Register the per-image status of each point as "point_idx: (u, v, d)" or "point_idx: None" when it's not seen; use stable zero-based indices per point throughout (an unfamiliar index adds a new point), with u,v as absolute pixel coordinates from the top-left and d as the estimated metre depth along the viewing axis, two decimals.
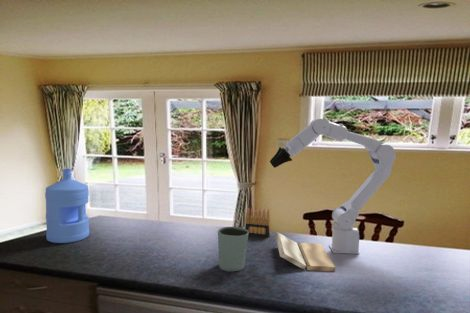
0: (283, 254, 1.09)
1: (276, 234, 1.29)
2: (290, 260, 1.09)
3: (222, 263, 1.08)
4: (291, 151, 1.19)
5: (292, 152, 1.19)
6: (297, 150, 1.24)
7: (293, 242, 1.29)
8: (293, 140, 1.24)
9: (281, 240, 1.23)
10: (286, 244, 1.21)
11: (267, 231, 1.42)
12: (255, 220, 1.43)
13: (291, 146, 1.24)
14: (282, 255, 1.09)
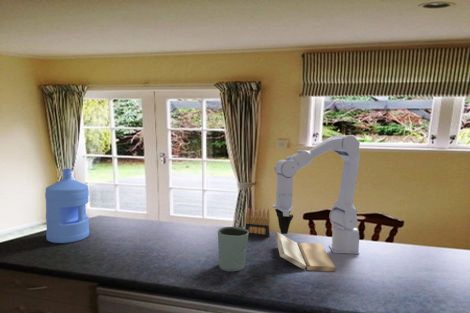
0: (283, 254, 1.09)
1: (276, 234, 1.29)
2: (290, 260, 1.09)
3: (222, 263, 1.08)
4: (285, 212, 1.12)
5: (287, 212, 1.12)
6: (289, 203, 1.17)
7: (293, 242, 1.29)
8: (278, 199, 1.17)
9: (281, 240, 1.23)
10: (286, 244, 1.21)
11: (267, 231, 1.42)
12: (255, 220, 1.43)
13: (282, 205, 1.16)
14: (282, 255, 1.09)
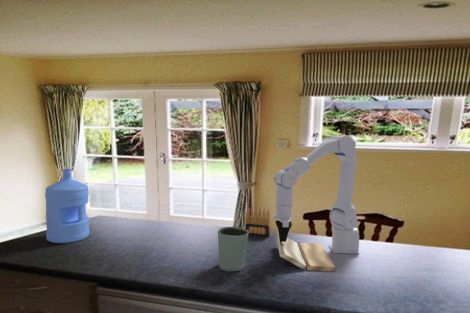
0: (283, 254, 1.09)
1: (276, 234, 1.29)
2: (290, 260, 1.09)
3: (222, 263, 1.08)
4: (285, 223, 1.12)
5: (286, 223, 1.12)
6: (289, 213, 1.17)
7: (293, 242, 1.29)
8: (277, 209, 1.18)
9: None
10: (286, 244, 1.21)
11: (267, 231, 1.42)
12: (255, 220, 1.43)
13: (281, 216, 1.17)
14: (282, 255, 1.09)
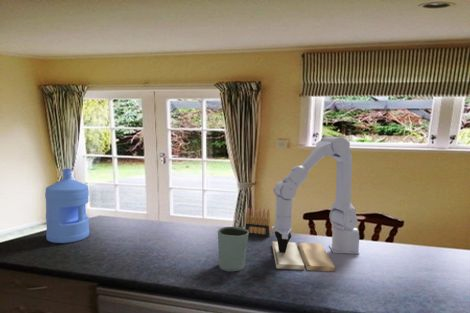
0: (278, 265, 1.10)
1: (272, 244, 1.30)
2: (287, 267, 1.10)
3: (222, 263, 1.08)
4: (284, 235, 1.13)
5: (286, 235, 1.13)
6: (288, 225, 1.17)
7: (291, 244, 1.29)
8: (277, 220, 1.18)
9: (276, 249, 1.23)
10: None
11: (267, 231, 1.42)
12: (255, 220, 1.43)
13: (281, 227, 1.17)
14: (278, 266, 1.10)
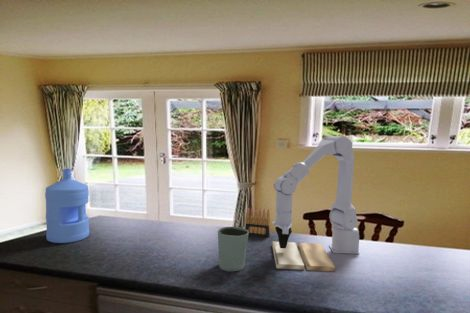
0: (278, 265, 1.10)
1: (272, 244, 1.30)
2: (287, 267, 1.10)
3: (222, 263, 1.08)
4: (285, 230, 1.12)
5: (286, 230, 1.12)
6: (289, 220, 1.17)
7: (291, 244, 1.29)
8: (277, 216, 1.18)
9: (276, 249, 1.23)
10: (282, 251, 1.21)
11: (267, 231, 1.42)
12: (255, 220, 1.43)
13: (281, 222, 1.17)
14: (278, 266, 1.10)
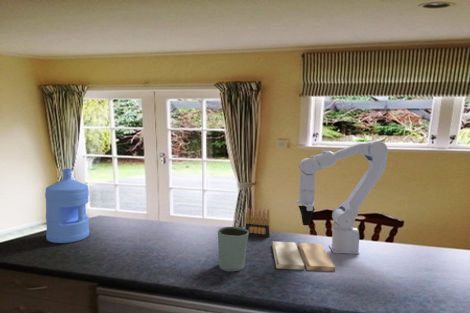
0: (278, 265, 1.10)
1: (272, 244, 1.30)
2: (287, 267, 1.10)
3: (222, 263, 1.08)
4: (309, 207, 1.20)
5: (311, 207, 1.20)
6: (312, 198, 1.25)
7: (291, 244, 1.29)
8: (301, 195, 1.26)
9: (276, 249, 1.23)
10: (282, 251, 1.21)
11: (267, 231, 1.42)
12: (255, 220, 1.43)
13: (305, 200, 1.25)
14: (278, 266, 1.10)
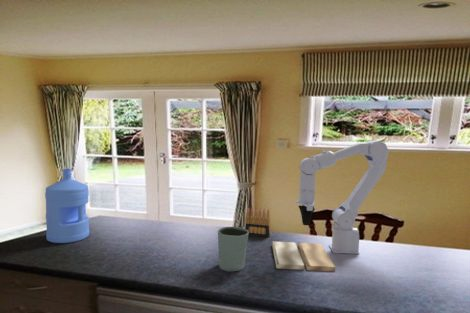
0: (278, 265, 1.10)
1: (272, 244, 1.30)
2: (287, 267, 1.10)
3: (222, 263, 1.08)
4: (309, 207, 1.20)
5: (311, 207, 1.20)
6: (312, 198, 1.25)
7: (291, 244, 1.29)
8: (301, 194, 1.26)
9: (276, 249, 1.23)
10: (282, 251, 1.21)
11: (267, 231, 1.42)
12: (255, 220, 1.43)
13: (305, 200, 1.25)
14: (278, 266, 1.10)
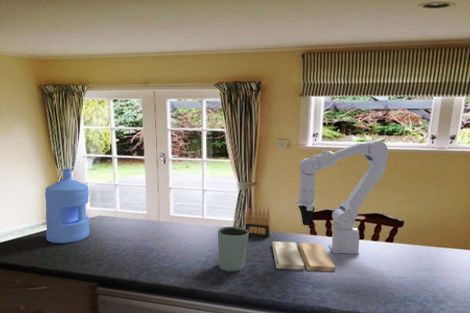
0: (278, 265, 1.10)
1: (272, 244, 1.30)
2: (287, 267, 1.10)
3: (222, 263, 1.08)
4: (309, 207, 1.20)
5: (311, 207, 1.20)
6: (312, 198, 1.25)
7: (291, 244, 1.29)
8: (301, 194, 1.26)
9: (276, 249, 1.23)
10: (282, 251, 1.21)
11: (267, 231, 1.42)
12: (255, 220, 1.43)
13: (305, 200, 1.25)
14: (278, 266, 1.10)
